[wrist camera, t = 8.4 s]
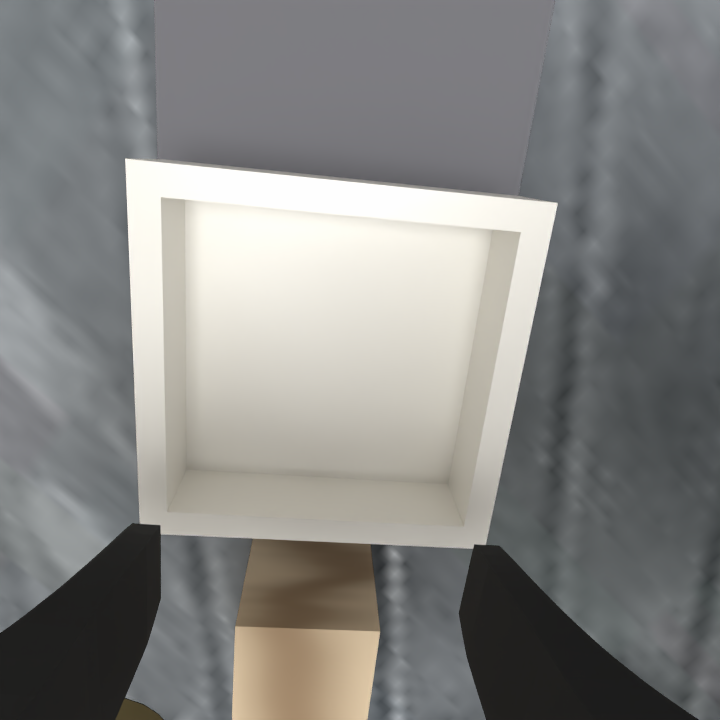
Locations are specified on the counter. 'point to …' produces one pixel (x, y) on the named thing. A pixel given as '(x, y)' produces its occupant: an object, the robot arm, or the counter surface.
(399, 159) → the flat gray panel
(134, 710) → the cork
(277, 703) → the wooden block
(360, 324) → the white square tray
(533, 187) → the counter surface
